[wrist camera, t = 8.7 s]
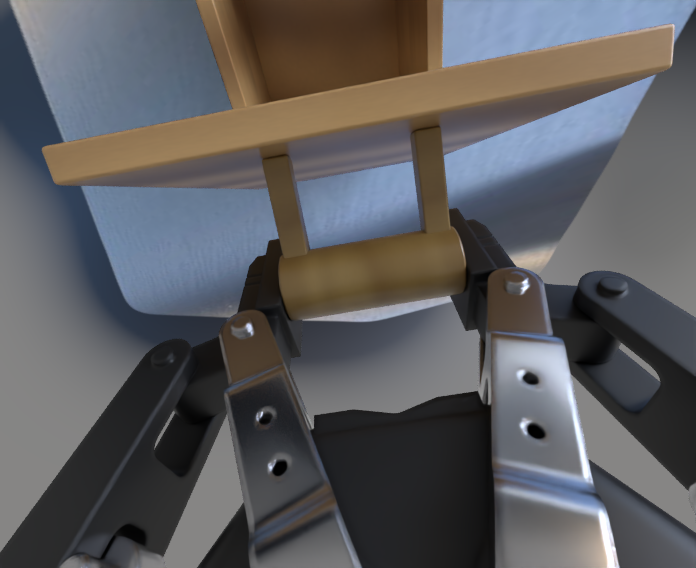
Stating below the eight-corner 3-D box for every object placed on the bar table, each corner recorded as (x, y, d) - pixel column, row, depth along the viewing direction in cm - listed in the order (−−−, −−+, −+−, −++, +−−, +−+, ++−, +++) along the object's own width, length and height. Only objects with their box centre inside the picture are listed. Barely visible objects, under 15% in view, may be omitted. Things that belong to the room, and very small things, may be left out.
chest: (199, -118, 22) (128, -195, 14) (398, -163, 21) (446, -273, 13) (272, 137, 32) (256, 181, 23) (409, 111, 31) (441, 146, 23)
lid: (38, 146, 7) (127, 376, 8) (677, 20, 6) (659, 291, 8) (254, 177, 23) (272, 254, 24) (443, 142, 22) (450, 224, 24)
